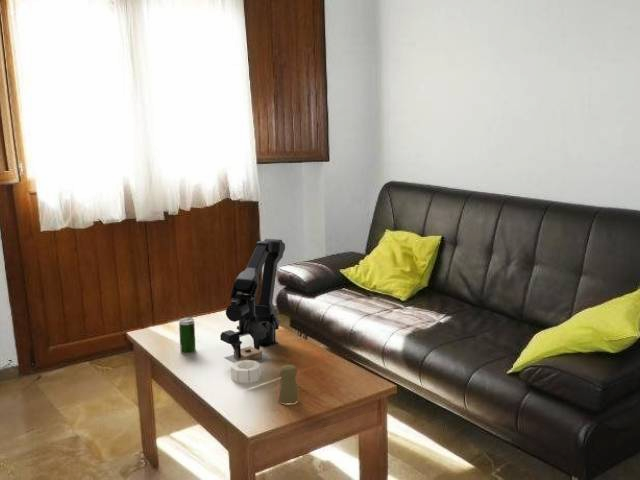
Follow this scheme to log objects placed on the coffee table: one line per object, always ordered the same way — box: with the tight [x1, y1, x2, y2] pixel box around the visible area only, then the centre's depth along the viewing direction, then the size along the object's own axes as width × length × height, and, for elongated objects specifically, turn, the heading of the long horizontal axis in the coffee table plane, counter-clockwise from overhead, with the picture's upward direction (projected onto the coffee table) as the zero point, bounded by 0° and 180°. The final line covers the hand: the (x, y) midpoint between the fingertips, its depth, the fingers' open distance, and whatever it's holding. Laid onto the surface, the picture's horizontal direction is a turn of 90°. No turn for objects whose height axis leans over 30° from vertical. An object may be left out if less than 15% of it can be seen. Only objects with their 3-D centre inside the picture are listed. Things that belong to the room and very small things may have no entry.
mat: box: [224, 353, 273, 364], centre depth 230 cm, size 12×12×1 cm
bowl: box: [230, 360, 261, 384], centre depth 213 cm, size 9×9×4 cm
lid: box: [233, 345, 263, 361], centre depth 229 cm, size 7×7×3 cm
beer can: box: [178, 317, 197, 355], centre depth 235 cm, size 5×5×12 cm
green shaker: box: [278, 364, 300, 404], centre depth 197 cm, size 6×6×11 cm
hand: (247, 355), depth 230 cm, fingers closed on lid, 7 cm apart
